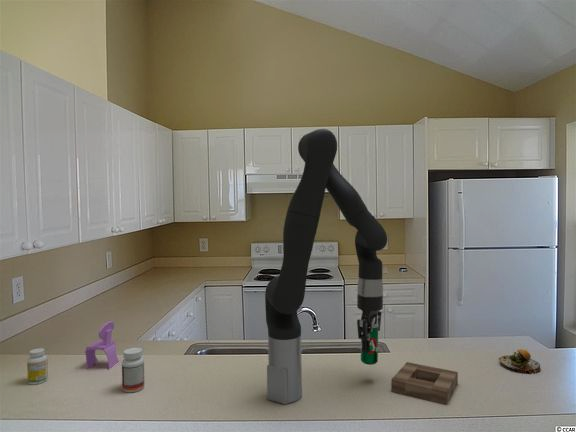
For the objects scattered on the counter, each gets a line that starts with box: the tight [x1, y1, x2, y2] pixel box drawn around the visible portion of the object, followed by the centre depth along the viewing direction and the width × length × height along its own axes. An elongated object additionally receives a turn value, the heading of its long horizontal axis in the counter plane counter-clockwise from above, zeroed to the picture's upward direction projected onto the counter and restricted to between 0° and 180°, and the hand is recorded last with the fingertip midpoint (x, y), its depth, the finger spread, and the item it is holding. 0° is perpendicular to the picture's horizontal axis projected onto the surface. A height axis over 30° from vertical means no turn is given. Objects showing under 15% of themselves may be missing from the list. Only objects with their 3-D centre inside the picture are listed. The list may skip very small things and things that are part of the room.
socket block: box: [390, 361, 459, 406], centre depth 120 cm, size 15×15×4 cm
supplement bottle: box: [26, 347, 49, 385], centre depth 128 cm, size 5×5×10 cm
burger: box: [498, 348, 541, 375], centre depth 134 cm, size 12×12×8 cm
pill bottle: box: [121, 347, 145, 393], centre depth 122 cm, size 6×6×11 cm
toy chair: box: [84, 320, 120, 370], centre depth 140 cm, size 8×9×15 cm
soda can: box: [360, 322, 379, 366], centre depth 124 cm, size 5×5×12 cm
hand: (369, 349), depth 124 cm, fingers closed on soda can, 5 cm apart
